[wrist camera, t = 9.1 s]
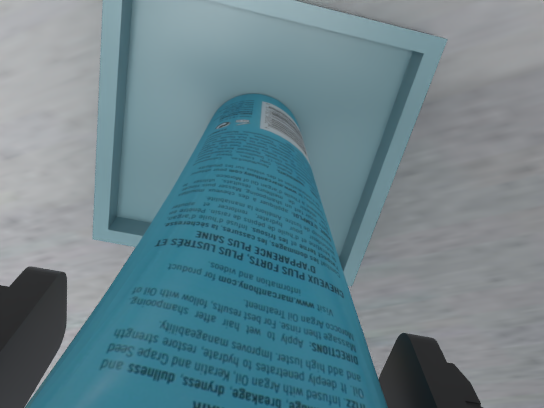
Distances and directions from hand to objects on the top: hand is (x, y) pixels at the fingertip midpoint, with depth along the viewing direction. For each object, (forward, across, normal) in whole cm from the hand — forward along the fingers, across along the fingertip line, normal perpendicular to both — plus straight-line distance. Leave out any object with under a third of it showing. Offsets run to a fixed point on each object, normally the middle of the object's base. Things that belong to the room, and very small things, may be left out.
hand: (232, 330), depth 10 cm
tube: (+14, 0, 0) cm, 14 cm away
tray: (+14, 0, 0) cm, 14 cm away
